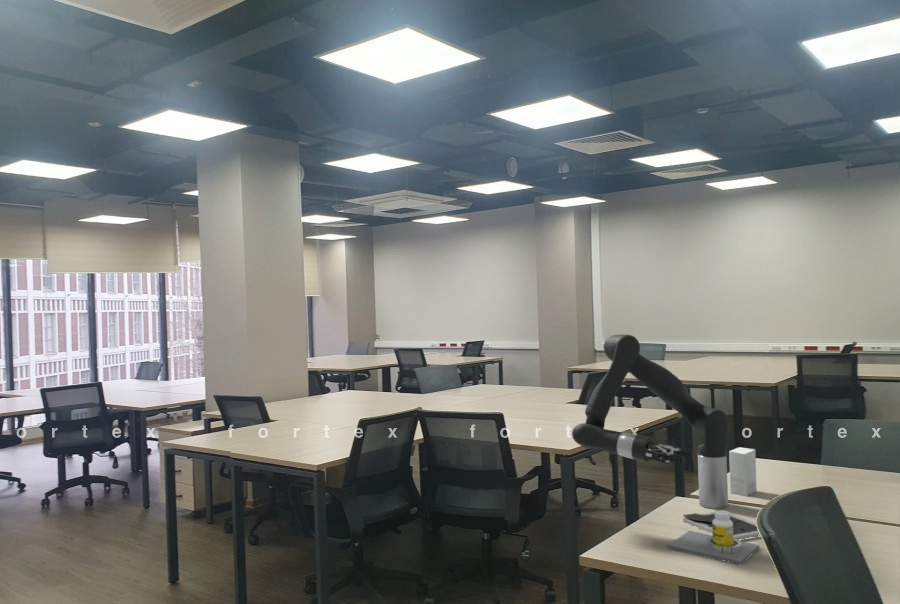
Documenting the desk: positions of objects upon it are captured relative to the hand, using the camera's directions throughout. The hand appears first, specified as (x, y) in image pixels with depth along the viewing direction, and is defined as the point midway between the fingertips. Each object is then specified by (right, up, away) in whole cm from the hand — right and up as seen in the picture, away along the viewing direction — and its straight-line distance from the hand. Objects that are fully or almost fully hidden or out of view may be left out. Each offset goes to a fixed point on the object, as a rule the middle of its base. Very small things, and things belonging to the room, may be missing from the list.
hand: (688, 458), depth 194 cm
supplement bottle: (+7, -23, -9) cm, 26 cm away
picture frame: (+15, -25, +10) cm, 31 cm away
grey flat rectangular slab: (+5, -24, -7) cm, 25 cm away
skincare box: (+37, -24, +46) cm, 64 cm away
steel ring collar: (+7, -24, -9) cm, 26 cm away
